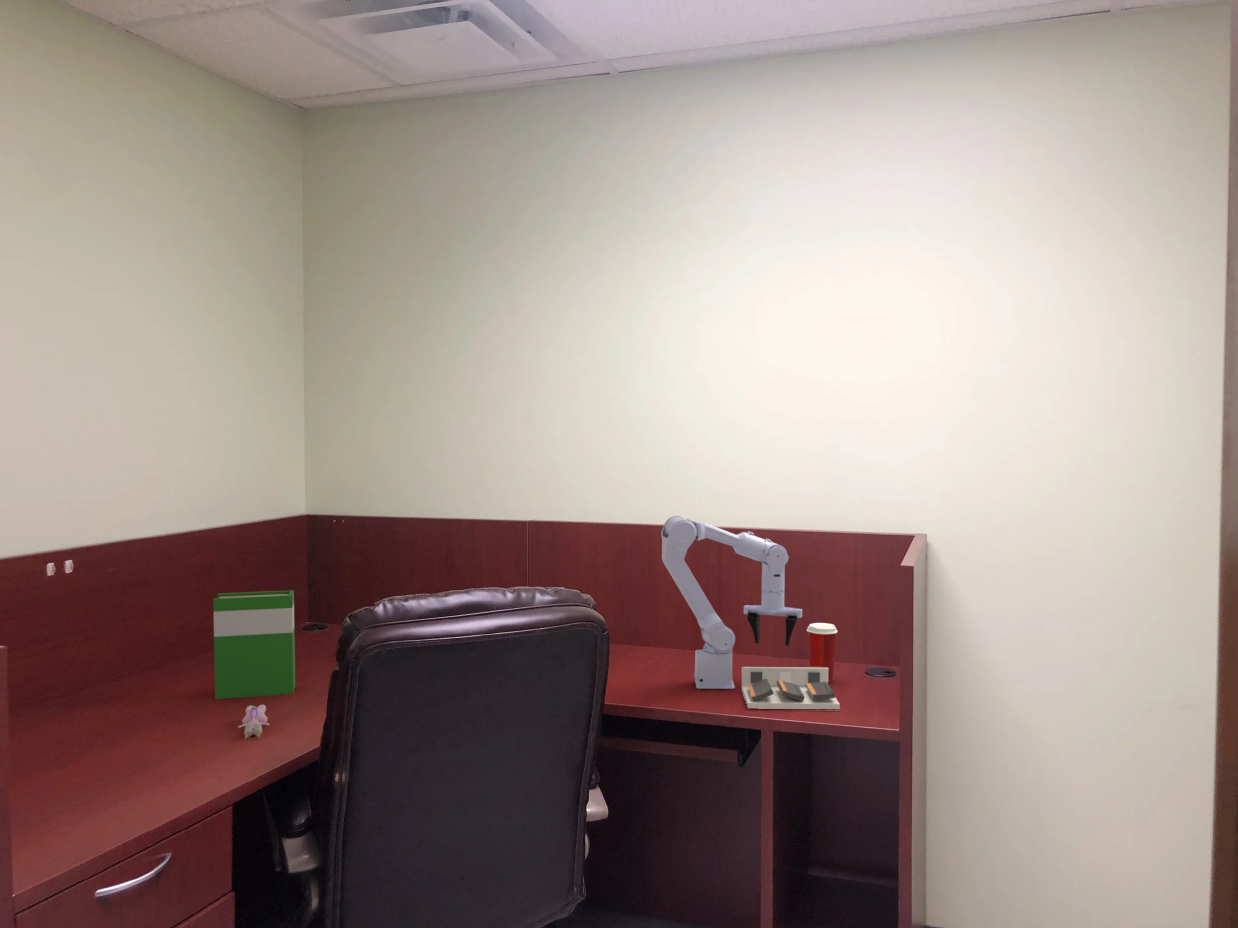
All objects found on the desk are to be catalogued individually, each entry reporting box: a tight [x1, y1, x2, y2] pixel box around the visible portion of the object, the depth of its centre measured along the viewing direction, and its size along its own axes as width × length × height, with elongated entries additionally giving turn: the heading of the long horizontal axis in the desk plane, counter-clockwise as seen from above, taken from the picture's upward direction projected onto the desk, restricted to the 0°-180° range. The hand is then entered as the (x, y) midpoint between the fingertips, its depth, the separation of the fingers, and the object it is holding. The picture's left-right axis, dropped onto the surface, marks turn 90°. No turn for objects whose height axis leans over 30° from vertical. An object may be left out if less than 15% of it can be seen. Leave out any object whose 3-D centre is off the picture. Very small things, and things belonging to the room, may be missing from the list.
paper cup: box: [806, 622, 838, 681], centre depth 247 cm, size 8×8×14 cm
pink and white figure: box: [237, 704, 270, 740], centre depth 208 cm, size 6×6×15 cm
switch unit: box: [741, 666, 841, 710], centre depth 229 cm, size 21×15×6 cm
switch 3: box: [806, 682, 836, 700], centre depth 228 cm, size 5×10×1 cm, turn 178°
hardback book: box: [212, 589, 296, 700], centre depth 235 cm, size 18×7×24 cm, turn 105°
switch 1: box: [748, 678, 774, 702], centre depth 228 cm, size 5×10×1 cm, turn 178°
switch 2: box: [776, 680, 804, 701], centre depth 228 cm, size 5×10×1 cm, turn 179°
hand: (772, 643), depth 245 cm, fingers open, 7 cm apart
